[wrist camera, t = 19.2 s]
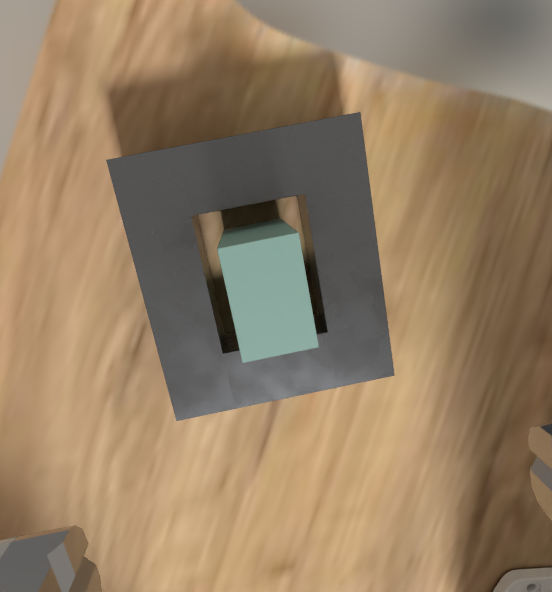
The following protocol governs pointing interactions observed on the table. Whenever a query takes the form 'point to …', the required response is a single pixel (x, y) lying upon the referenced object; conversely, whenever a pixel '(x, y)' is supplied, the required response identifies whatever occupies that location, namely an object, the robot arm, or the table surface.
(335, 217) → the collar block
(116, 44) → the table surface
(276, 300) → the sage green box
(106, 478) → the table surface
